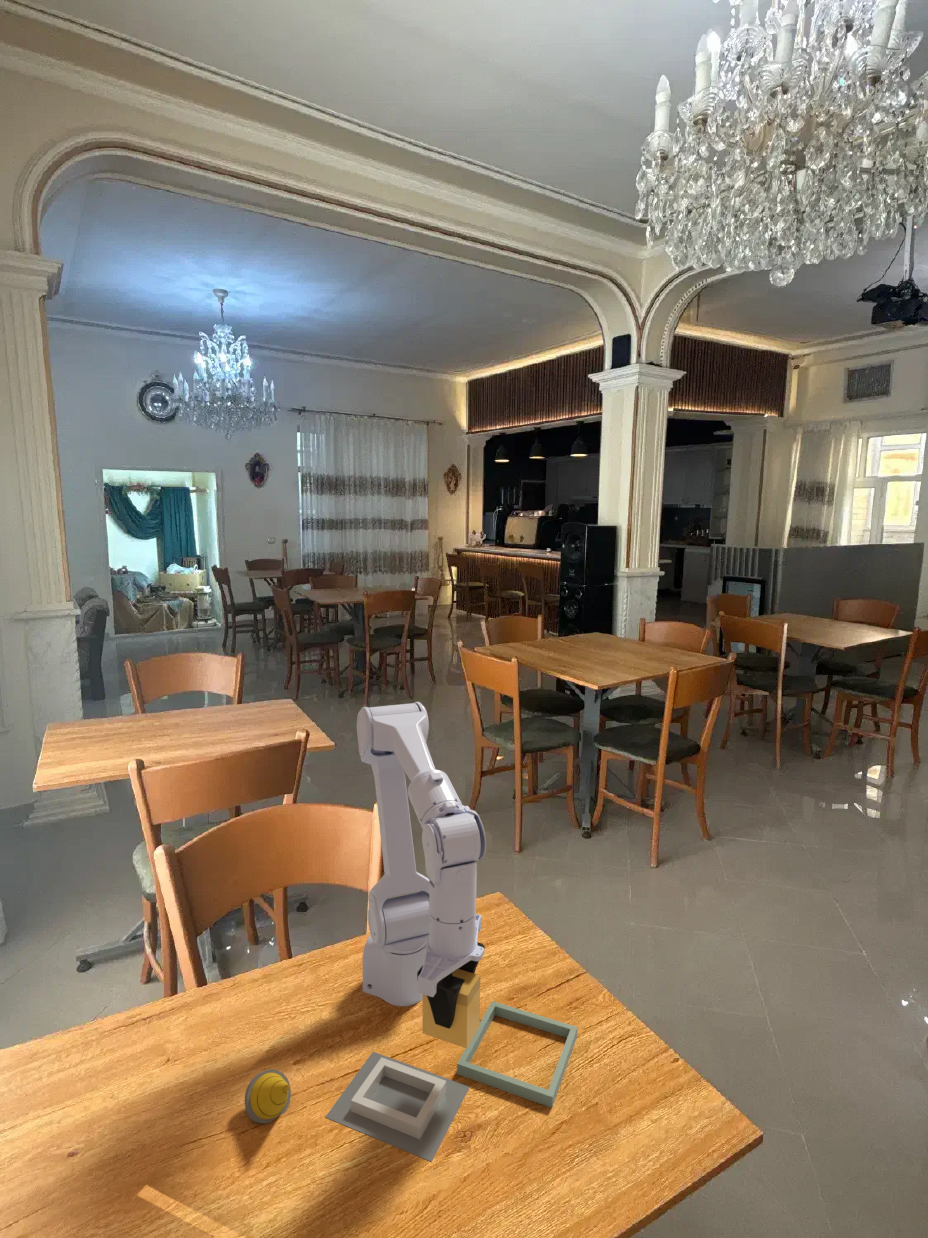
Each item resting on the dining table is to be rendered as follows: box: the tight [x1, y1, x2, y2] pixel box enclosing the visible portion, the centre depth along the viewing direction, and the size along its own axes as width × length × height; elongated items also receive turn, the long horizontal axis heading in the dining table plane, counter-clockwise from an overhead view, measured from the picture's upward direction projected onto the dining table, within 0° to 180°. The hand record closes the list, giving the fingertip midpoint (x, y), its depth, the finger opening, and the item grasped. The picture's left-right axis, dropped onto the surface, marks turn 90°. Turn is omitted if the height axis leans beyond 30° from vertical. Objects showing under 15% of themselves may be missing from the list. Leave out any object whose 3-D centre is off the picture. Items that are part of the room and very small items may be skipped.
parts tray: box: [456, 1000, 578, 1109], centre depth 90 cm, size 13×13×2 cm
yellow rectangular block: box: [421, 969, 481, 1049], centre depth 84 cm, size 6×4×7 cm, turn 66°
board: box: [324, 1051, 470, 1163], centre depth 82 cm, size 14×11×2 cm
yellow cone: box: [244, 1068, 292, 1125], centre depth 80 cm, size 5×5×10 cm
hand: (451, 1012), depth 84 cm, fingers closed on yellow rectangular block, 4 cm apart
